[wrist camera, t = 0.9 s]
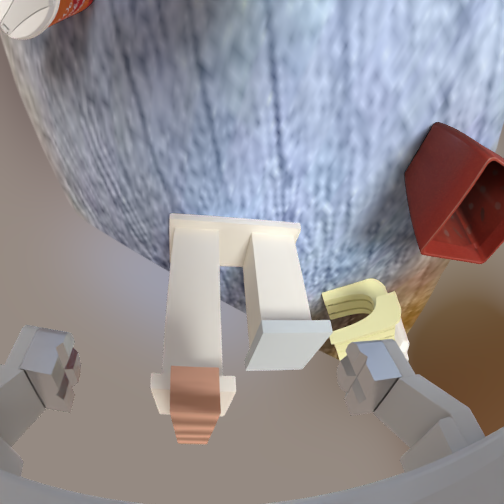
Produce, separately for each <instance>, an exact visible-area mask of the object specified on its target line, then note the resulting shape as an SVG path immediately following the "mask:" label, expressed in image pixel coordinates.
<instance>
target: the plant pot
mask: <svg viewBox="0 0 504 504" xmlns="http://www.w3.org/2000/svg"><path fill="white" fill-rule="evenodd" d="M404 176H405V186H406V194H407V200H408V206H409V211H410V216H411V221H412V225H413V229H414V233H415V236H416V240H417V243H418V247H419V250H420V252H421V254H422V255H426V256H432V257H439V258H445V259H451V260H459V261H464V262H470V263H476V264H482V263H484V262H486V261H487V259H488V258H489V257H490V256H491V255H492V254H493V253H494V252H495V251H496V249H498V248H499V246H500V245H501V244H502V243H503V242H504V158H502V157H501V156H499V155H498V154H496V153H494V152H493V151H491V150H489V149H488V148H486V147H484V146H482V145H481V144H479V143H478V142H476V141H475V140H473V139H472V138H470V137H469V136H467V135H465V134H464V133H462V132H460V131H458V130H457V129H455V128H453V127H450V126H448V125H446V124H443V123H440V122H436V123H435V124H434V125H433V126H432V128H431V130H430V131H429V133H428V135H427V137H426V138H425V140H424V142H423V143H422V145H421V147H420V148H419V150H418V152H417V154H416V155H415V157H414V159H413V160H412V162H411V163H410V165H409V167H408V168H407V170H406V172H405V175H404Z"/></svg>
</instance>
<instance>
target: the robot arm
mask: <svg viewBox="0 0 504 504" xmlns="http://www.w3.org/2000/svg"><path fill="white" fill-rule="evenodd" d="M74 342H75V341H74V338H73V336H72V334H71V333H69V332H63V331H58V330H51V329H47V328H40V327H35V326H29V325H26V326H24V327H23V328H22V330H21V332H20V334H19V336H18V338H17V340H16V342H15V344H14V346H13V348H12V350H11V352H10V354H9V356H8V359H7V361H6V363H5V365H0V504H143V503H135V502H127V501H120V500H113V499H107V498H101V497H96V496H91V495H86V494H81V493H76V492H72V491H68V490H64V489H60V488H57V487H53V486H49V485H46V484H42V483H39V482H36V481H32V480H29V479H26V478H23V477H21V472H22V467H23V460H22V458H21V457H20V456H19V455H18V454H17V453H16V452H15V451H14V450H13V449H12V448H11V447H12V446H13V445H14V443H15V442H16V441H17V440H18V439H19V438H20V437H21V436H22V435H23V433H25V431H26V430H27V429H28V428H29V427H30V426H31V425H32V424H33V423H34V422H35V421H36V420H37V418H38V417H39V416H40V415H41V414H42V413H43V412H44V411H45V408H47V409H52V410H57V411H63V412H69V413H70V412H71V408H72V404H73V400H74V396H75V394H74V391H73V389H72V387H73V386H75V385H76V384H77V383H78V381H79V377H80V368H81V363H80V357H79V354H78V352H77V351H76V350H75V349H74V348H73V345H74ZM345 351H346V353H347V356H346V357H344V358H343V359H342V360H340V363H339V365H338V367H337V381H338V384H339V387H340V388H341V389H342V390H343V391H345V392H346V396H345V399H344V400H345V402H346V405H347V407H348V410H349V413H350V415H351V416H352V415H360V414H366V413H372V412H374V413H373V414H374V415H375V416H376V417H377V418H378V419H379V420H381V421H382V422H383V423H384V424H385V425H386V426H387V427H388V428H389V429H390V430H391V431H392V432H393V433H394V434H396V435H397V436H398V437H399V438H400V439H401V440H402V441H403V442H404V443H405V444H406V445H407V446H409V447H410V449H409V450H408V451H407V452H406V453H405V454H404V455H402V457H401V459H400V461H401V464H402V466H403V469H404V472H405V473H402V474H399V475H396V476H393V477H390V478H387V479H384V480H380V481H377V482H374V483H370V484H367V485H363V486H359V487H355V488H351V489H347V490H343V491H339V492H334V493H329V494H325V495H319V496H314V497H308V498H303V499H296V500H290V501H282V502H274V503H265V504H504V427H503V428H501V429H499V430H497V431H496V432H494V433H492V434H490V435H488V436H487V437H485V435H484V434H483V432H482V430H481V428H480V426H479V425H478V423H477V421H476V419H475V417H474V416H473V414H472V412H471V411H470V409H469V408H468V407H467V406H465V405H464V404H462V403H461V402H459V401H458V400H456V399H455V398H453V397H452V396H450V395H449V394H447V393H446V392H444V391H443V390H441V389H440V388H439V387H437V386H435V385H434V384H433V383H431V382H430V381H428V380H427V379H425V378H424V377H422V376H421V375H419V374H418V375H415V373H414V372H413V370H412V368H411V366H410V364H409V363H408V361H407V359H406V358H405V356H404V354H403V353H402V351H401V349H400V348H399V346H398V344H397V343H396V341H395V340H393V339H384V340H372V341H360V342H351V343H350V344H349V345H348V346H347V348H346V350H345Z"/></svg>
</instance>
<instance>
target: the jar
mask: <svg viewBox="0 0 504 504" xmlns="http://www.w3.org/2000/svg"><path fill="white" fill-rule="evenodd" d="M394 338H395V341H396V343H397V344H398V346H399V348H400V349H401V351H402V353H403V354H404V356H405V358H406V359H407V361H408V360H409V358H408V355H407V350H408V347H409V341H408V339H407V336H406V332H405V330H404V327H403V324H402V320H401V318H400V321H399V323H398V324H396V325H395V337H394Z"/></svg>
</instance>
